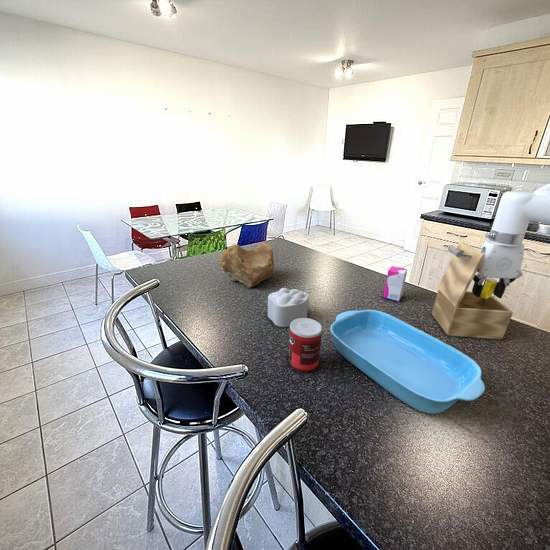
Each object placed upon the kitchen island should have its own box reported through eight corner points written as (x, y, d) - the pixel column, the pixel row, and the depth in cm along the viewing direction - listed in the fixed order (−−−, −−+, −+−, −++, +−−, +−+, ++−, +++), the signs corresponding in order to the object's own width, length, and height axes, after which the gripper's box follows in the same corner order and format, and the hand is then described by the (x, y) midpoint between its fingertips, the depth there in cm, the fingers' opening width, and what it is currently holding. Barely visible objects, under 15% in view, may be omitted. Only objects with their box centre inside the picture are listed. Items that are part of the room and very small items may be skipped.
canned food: (296, 348, 80) (298, 314, 76) (323, 359, 77) (327, 323, 72) (282, 364, 74) (284, 328, 70) (311, 376, 71) (314, 339, 66)
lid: (462, 241, 89) (445, 237, 89) (485, 254, 77) (466, 250, 77) (439, 288, 96) (424, 284, 96) (457, 307, 84) (439, 303, 84)
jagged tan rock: (232, 297, 109) (233, 261, 102) (216, 278, 121) (216, 244, 114) (284, 286, 120) (289, 253, 113) (265, 269, 133) (268, 238, 126)
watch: (486, 302, 86) (492, 283, 84) (476, 298, 88) (481, 280, 86) (494, 296, 89) (501, 279, 87) (484, 293, 91) (490, 276, 89)
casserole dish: (493, 394, 67) (504, 370, 64) (444, 446, 55) (454, 418, 52) (364, 321, 94) (367, 301, 91) (312, 344, 82) (314, 323, 79)
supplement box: (402, 296, 111) (408, 268, 106) (398, 302, 106) (405, 273, 102) (386, 292, 114) (391, 265, 109) (382, 298, 109) (387, 269, 105)
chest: (479, 317, 98) (488, 292, 94) (502, 339, 87) (513, 312, 83) (431, 313, 99) (438, 289, 96) (447, 335, 88) (455, 308, 84)
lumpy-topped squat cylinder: (264, 313, 97) (264, 289, 94) (297, 304, 103) (298, 282, 100) (279, 329, 89) (280, 304, 86) (314, 319, 95) (316, 295, 91)
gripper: (480, 240, 78) (462, 299, 86) (549, 242, 77) (525, 303, 84) (466, 233, 85) (451, 288, 92) (529, 235, 84) (508, 291, 91)
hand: (486, 295), depth 88 cm, fingers closed on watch, 5 cm apart
